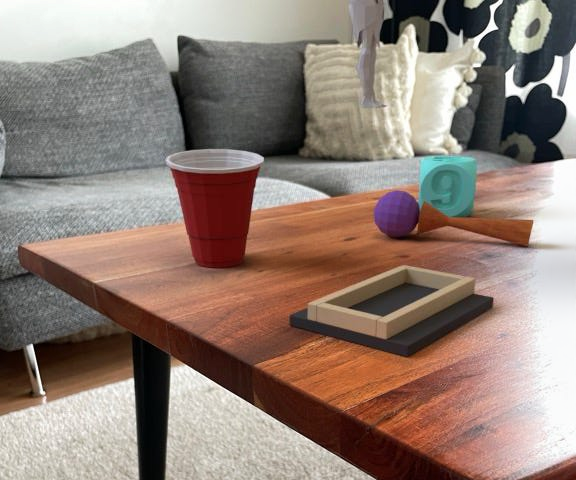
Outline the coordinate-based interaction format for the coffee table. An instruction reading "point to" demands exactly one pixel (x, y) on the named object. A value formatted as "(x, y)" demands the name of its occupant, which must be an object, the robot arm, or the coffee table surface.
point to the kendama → (441, 220)
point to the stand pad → (396, 309)
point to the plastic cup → (216, 201)
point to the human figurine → (367, 44)
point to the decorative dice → (448, 184)
